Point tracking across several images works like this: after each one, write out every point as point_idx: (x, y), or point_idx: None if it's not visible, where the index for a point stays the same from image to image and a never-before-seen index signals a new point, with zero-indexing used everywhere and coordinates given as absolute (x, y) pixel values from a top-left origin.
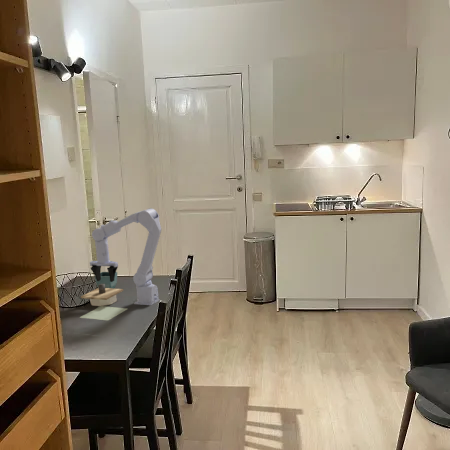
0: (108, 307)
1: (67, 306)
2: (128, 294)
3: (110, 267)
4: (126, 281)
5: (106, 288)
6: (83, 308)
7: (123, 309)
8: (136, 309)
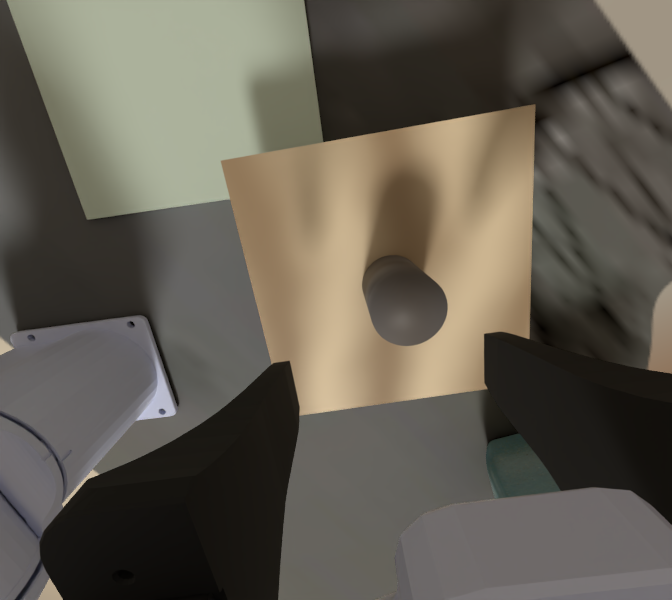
0: None
1: (616, 83)
2: (338, 445)
3: (149, 577)
4: None
5: (442, 386)
6: (442, 99)
7: (101, 190)
8: (42, 243)
